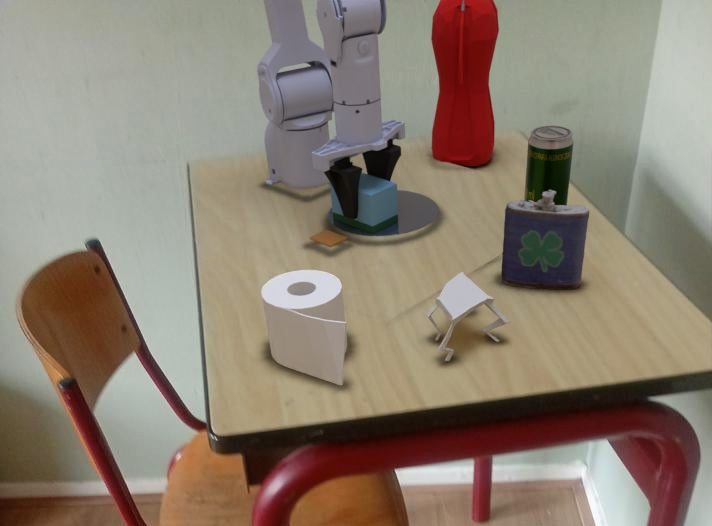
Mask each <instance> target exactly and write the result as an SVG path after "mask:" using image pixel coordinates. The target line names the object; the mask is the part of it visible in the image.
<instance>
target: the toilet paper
mask: <svg viewBox="0 0 712 526" xmlns="http://www.w3.org/2000/svg"><path fill="white" fill-rule="evenodd" d="M260 294H261V300H262V307H263V312H264V317H265V323H266V324H265V325H266V329H267V336H268V342H269V347H270V353H271V358H272V359H273V360H274V361H275V362H276V363H277V364H279V365H281V366H283V367H285V368H288V369H291V370H294V371H297V372H300V373H303V374H305V375H308V376H311V377H313V378H314V377H315V378H317V379H320V380H323V381H326V382H330V383H332V384H335V385H338V386H341V387H342V386H343V385H344V373H345V372H344V371H345V357H346V356H345V355H346V353H347V349H348V337H347V321H346V314H345V303H344V302H345V301H344V293H343V285H342V282H341V279H339V278H338V277H337V276H336V275H334V274H332V273H330V272H327V271H324V270H323V271H322V270H316V269H300V270H298V269H297V270H293V271H292V270H291V271H288V272H285V273H281V274H278V275H276V276H274V277H272V278H271V279H269V280H267V282H265V284H263V286H262V288H261V290H260Z"/></svg>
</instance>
